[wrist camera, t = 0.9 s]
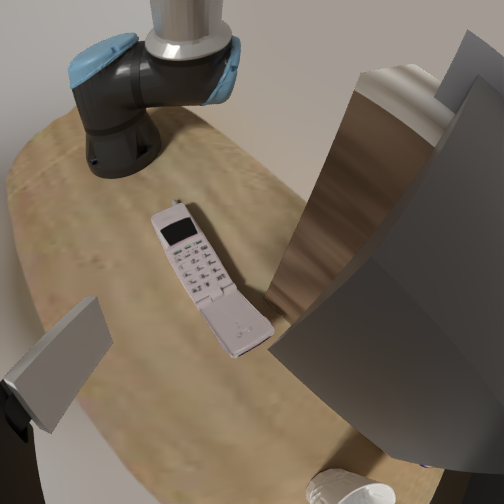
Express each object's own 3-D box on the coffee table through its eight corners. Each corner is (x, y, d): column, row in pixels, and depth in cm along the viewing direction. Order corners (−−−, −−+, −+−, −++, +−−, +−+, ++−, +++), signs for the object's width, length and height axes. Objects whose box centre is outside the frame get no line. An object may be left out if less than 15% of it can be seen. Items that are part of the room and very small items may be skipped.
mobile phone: (231, 361, 26) (138, 192, 35) (228, 365, 31) (146, 217, 40) (279, 332, 28) (177, 176, 37) (269, 341, 34) (180, 201, 42)
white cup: (324, 518, 21) (354, 548, 12) (288, 492, 23) (312, 523, 15) (366, 481, 24) (406, 500, 15) (334, 453, 26) (372, 470, 18)
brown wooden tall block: (328, 360, 33) (546, 251, 6) (263, 298, 36) (360, 73, 9) (369, 308, 37) (532, 170, 10) (310, 253, 40) (413, 63, 13)
